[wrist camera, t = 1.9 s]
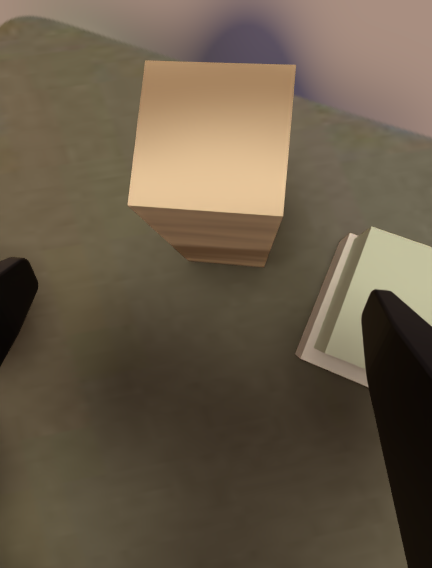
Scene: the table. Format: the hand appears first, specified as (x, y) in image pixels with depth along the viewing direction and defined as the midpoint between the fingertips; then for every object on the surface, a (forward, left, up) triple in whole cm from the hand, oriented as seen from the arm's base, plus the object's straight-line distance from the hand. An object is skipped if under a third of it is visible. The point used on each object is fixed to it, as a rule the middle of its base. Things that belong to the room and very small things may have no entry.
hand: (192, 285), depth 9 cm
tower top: (+4, -8, -9) cm, 13 cm away
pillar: (+4, +2, -11) cm, 12 cm away
